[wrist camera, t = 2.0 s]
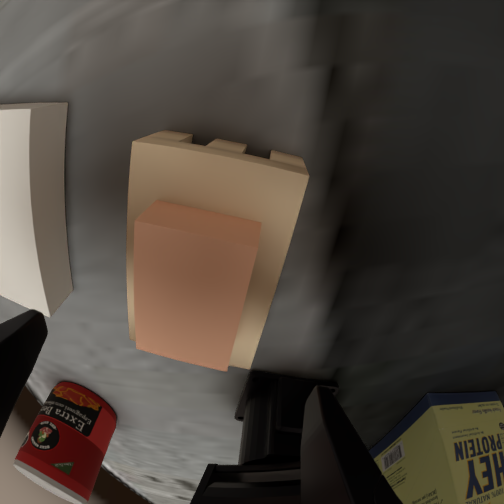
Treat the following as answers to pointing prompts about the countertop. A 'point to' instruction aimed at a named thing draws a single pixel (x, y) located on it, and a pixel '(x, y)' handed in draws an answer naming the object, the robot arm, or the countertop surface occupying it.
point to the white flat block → (33, 206)
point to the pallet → (221, 209)
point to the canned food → (67, 442)
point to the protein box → (447, 451)
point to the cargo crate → (191, 281)
